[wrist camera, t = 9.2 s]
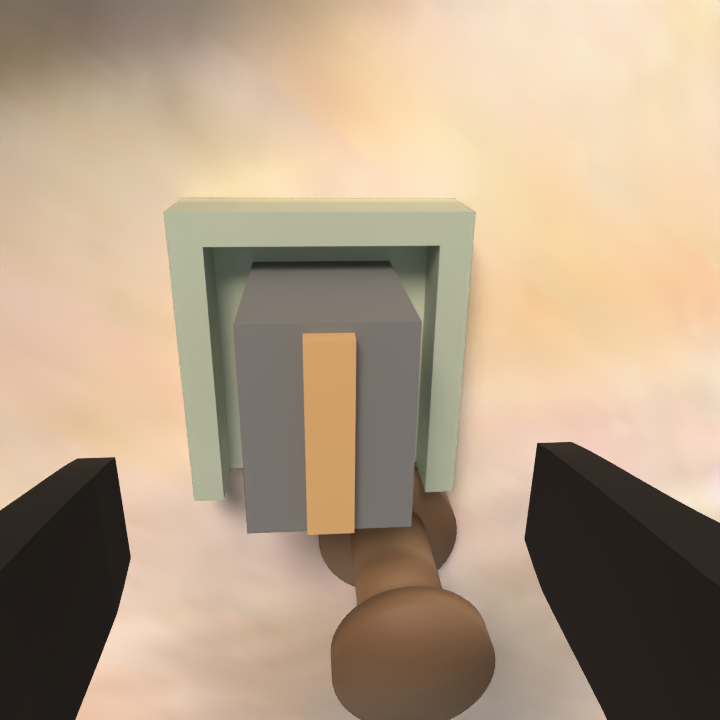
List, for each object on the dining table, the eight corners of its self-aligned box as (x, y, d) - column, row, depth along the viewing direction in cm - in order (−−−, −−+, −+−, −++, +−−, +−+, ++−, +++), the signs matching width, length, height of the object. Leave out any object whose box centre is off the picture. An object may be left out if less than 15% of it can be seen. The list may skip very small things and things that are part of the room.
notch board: (437, 450, 20) (453, 491, 18) (205, 458, 19) (194, 500, 17) (455, 198, 17) (475, 211, 15) (181, 198, 16) (163, 212, 14)
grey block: (384, 420, 19) (414, 537, 14) (261, 424, 18) (245, 545, 13) (389, 260, 17) (425, 328, 12) (253, 262, 16) (230, 332, 11)
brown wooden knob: (446, 571, 22) (494, 728, 16) (319, 577, 21) (324, 740, 16) (455, 461, 20) (512, 596, 15) (317, 466, 20) (322, 606, 14)
